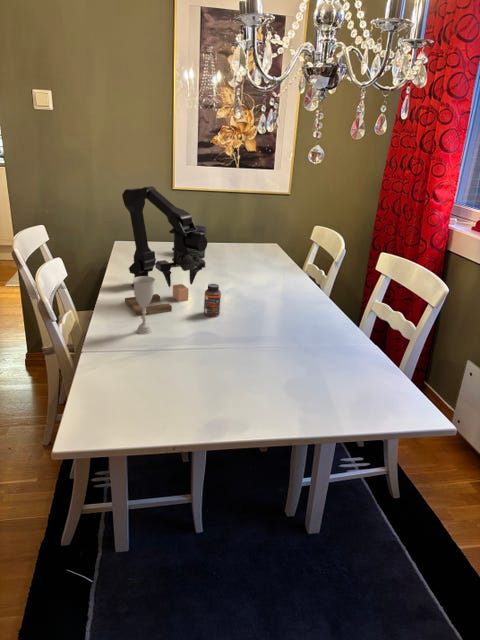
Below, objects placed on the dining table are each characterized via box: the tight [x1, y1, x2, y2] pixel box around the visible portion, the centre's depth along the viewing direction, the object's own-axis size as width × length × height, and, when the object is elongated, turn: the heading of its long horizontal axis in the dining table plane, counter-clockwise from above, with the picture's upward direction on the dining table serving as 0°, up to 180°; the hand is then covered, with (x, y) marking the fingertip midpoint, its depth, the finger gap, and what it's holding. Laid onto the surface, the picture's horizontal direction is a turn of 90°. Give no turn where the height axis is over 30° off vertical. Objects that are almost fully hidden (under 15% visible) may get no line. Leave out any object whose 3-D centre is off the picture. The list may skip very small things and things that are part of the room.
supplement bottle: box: [203, 283, 222, 318], centre depth 178 cm, size 6×6×11 cm
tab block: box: [172, 283, 189, 303], centre depth 192 cm, size 6×4×5 cm, turn 31°
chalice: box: [132, 275, 156, 335], centre depth 159 cm, size 7×7×18 cm
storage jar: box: [186, 225, 207, 259], centre depth 249 cm, size 10×10×15 cm
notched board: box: [124, 293, 173, 317], centre depth 182 cm, size 14×13×2 cm
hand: (180, 285), depth 191 cm, fingers open, 9 cm apart
